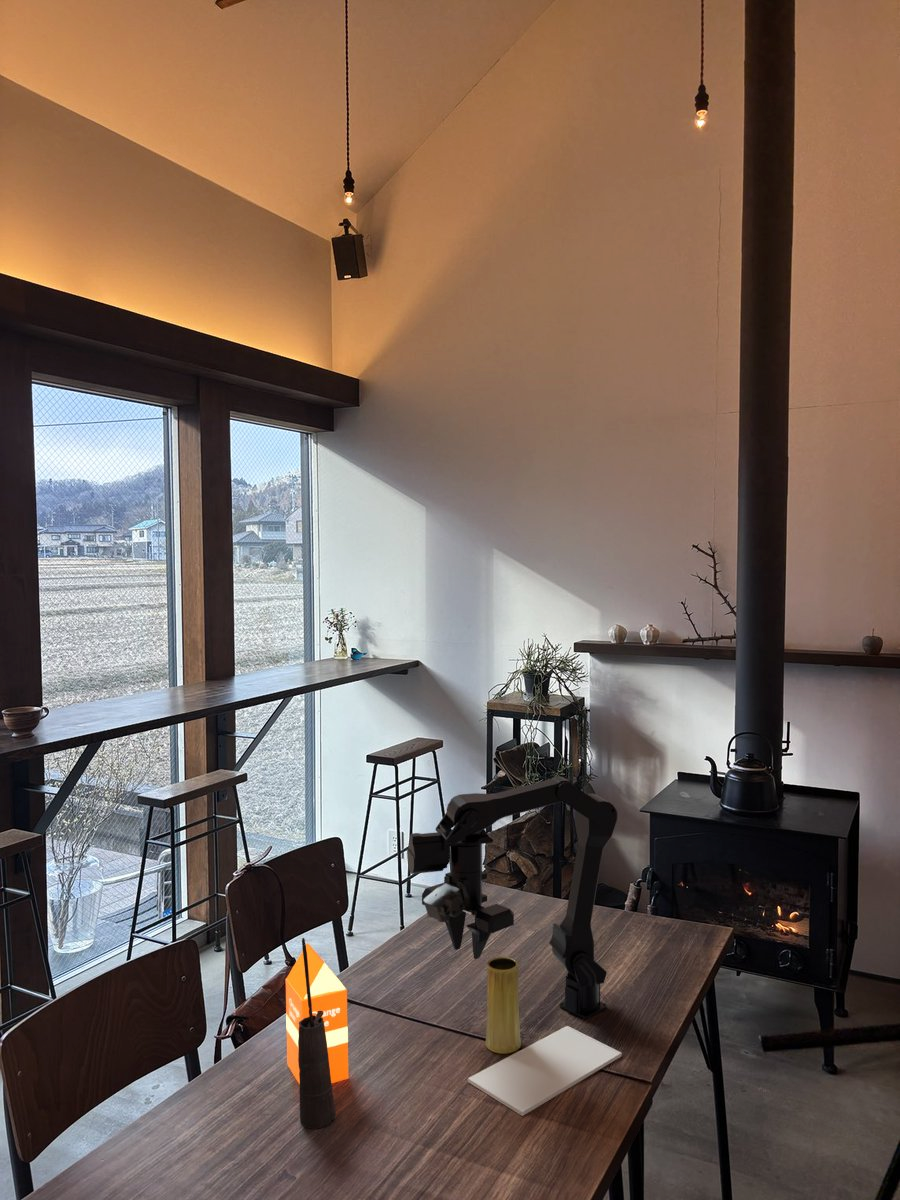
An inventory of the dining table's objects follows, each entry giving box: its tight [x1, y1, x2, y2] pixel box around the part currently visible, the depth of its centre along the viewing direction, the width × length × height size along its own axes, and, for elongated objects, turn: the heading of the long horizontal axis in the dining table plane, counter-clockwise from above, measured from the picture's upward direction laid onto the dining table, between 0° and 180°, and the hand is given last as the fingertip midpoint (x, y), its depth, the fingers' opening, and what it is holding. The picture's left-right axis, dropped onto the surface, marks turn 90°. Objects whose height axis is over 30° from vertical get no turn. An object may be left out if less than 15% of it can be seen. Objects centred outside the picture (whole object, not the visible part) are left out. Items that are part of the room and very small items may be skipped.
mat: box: [467, 1025, 623, 1117], centre depth 145 cm, size 24×12×1 cm, turn 132°
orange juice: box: [285, 942, 349, 1085], centre depth 145 cm, size 8×9×20 cm
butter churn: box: [298, 937, 336, 1130], centre depth 134 cm, size 9×10×28 cm
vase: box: [484, 956, 522, 1055], centre depth 153 cm, size 6×6×14 cm
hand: (466, 953), depth 159 cm, fingers open, 5 cm apart
